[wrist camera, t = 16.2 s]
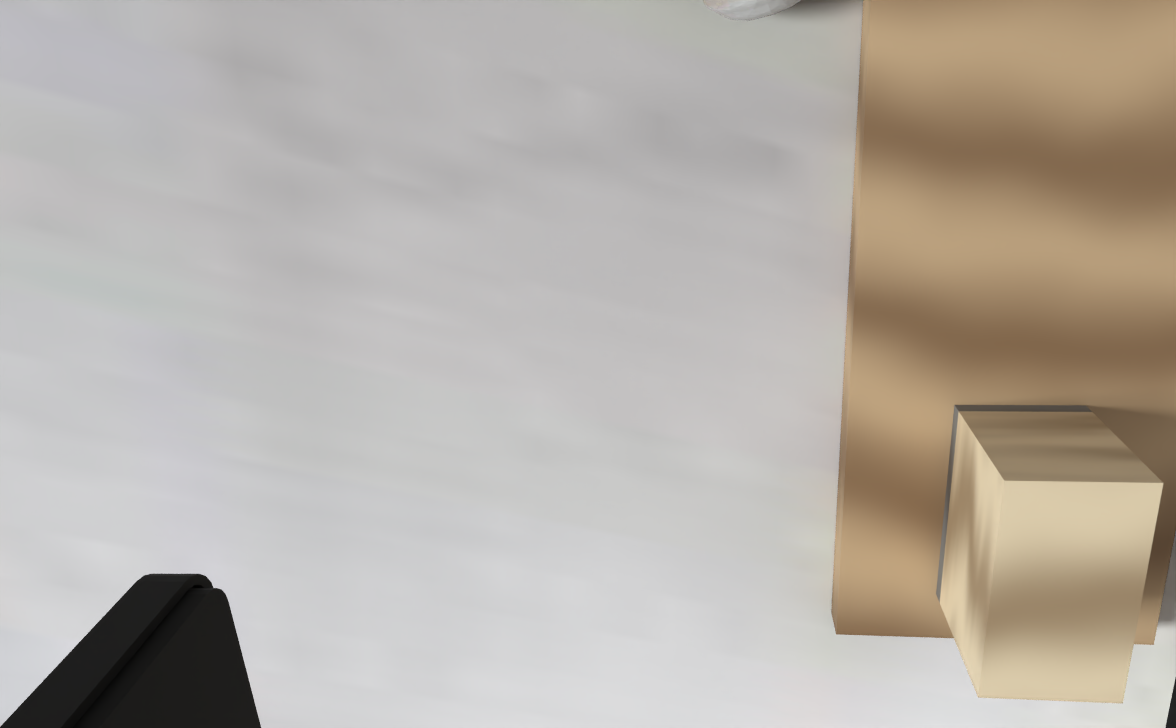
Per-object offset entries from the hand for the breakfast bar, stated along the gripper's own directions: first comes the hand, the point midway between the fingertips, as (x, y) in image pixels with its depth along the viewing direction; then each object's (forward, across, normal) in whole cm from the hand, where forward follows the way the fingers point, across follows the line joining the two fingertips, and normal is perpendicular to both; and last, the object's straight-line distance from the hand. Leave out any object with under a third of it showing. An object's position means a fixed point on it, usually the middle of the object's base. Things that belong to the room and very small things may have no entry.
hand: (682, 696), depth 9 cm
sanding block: (+24, -11, +12) cm, 30 cm away
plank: (+26, -12, +5) cm, 29 cm away
